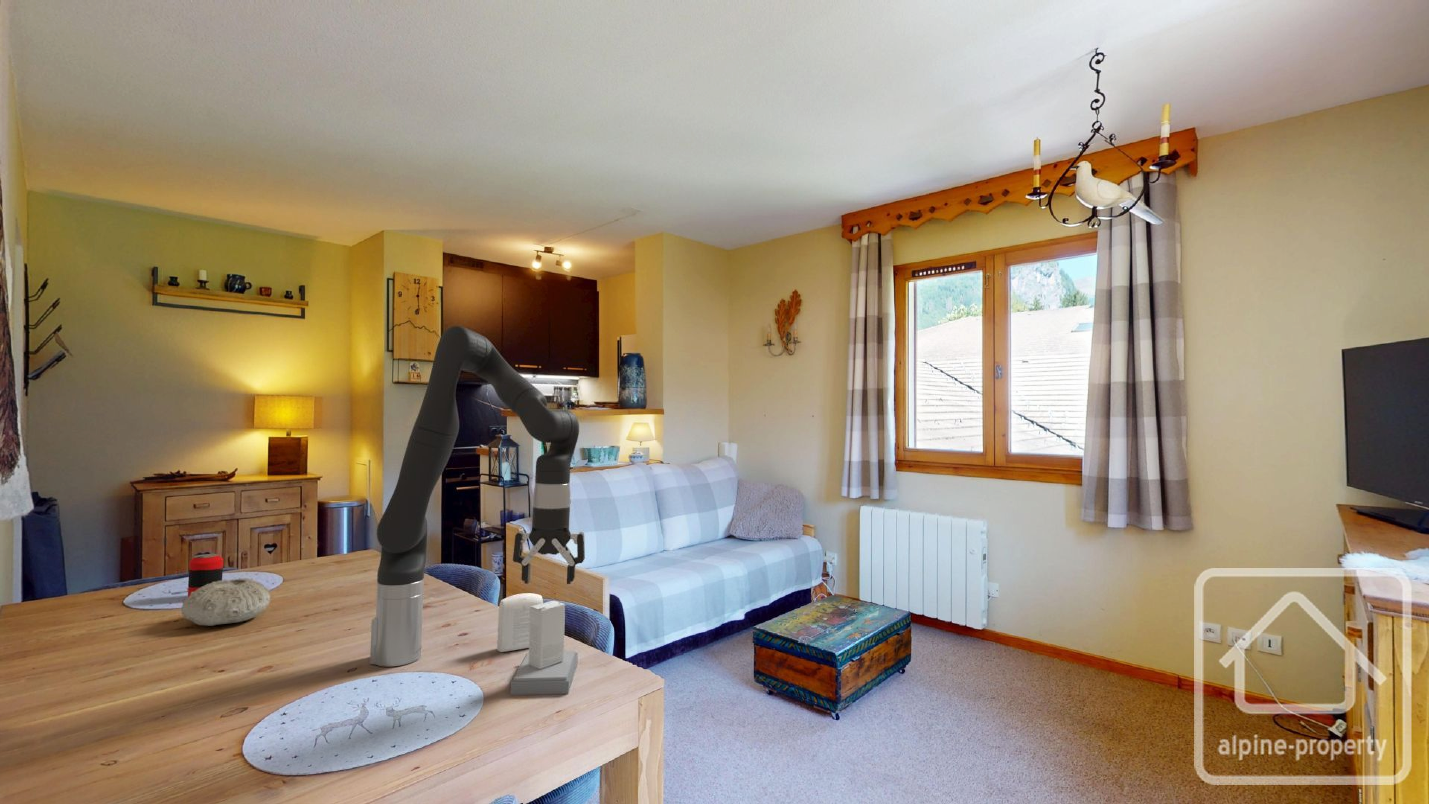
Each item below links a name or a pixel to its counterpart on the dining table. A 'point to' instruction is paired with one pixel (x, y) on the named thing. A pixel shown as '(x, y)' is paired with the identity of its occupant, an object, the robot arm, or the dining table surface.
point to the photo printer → (515, 621)
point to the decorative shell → (226, 602)
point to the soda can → (204, 571)
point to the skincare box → (546, 634)
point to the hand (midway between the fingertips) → (548, 583)
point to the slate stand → (545, 677)
